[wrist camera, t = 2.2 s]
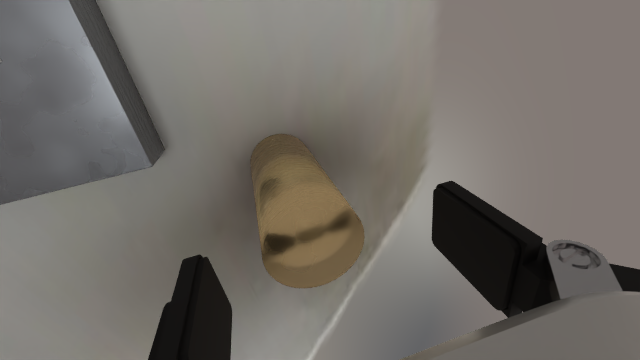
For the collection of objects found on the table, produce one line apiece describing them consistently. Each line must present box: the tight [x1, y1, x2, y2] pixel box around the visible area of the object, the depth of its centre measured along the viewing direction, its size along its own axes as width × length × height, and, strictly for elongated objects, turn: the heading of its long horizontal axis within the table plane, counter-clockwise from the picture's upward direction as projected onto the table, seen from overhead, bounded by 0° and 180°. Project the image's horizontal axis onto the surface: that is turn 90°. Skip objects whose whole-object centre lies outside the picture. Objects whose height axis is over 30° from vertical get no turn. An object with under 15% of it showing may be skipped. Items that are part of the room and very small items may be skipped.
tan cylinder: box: [250, 134, 364, 288], centre depth 16 cm, size 4×4×10 cm
